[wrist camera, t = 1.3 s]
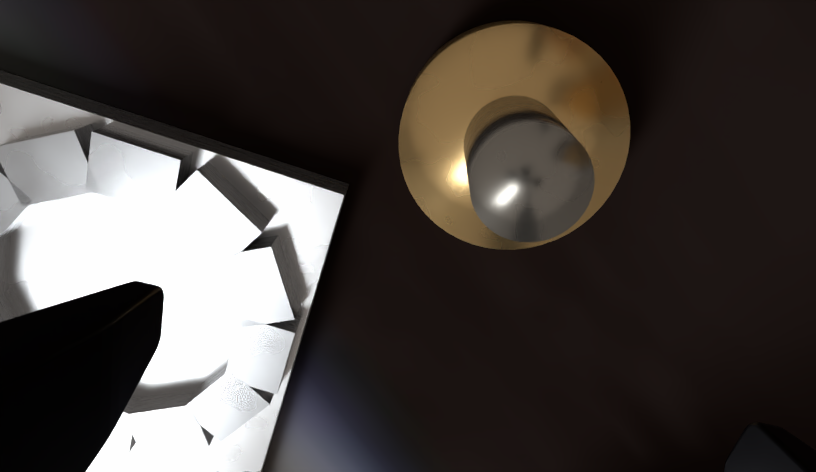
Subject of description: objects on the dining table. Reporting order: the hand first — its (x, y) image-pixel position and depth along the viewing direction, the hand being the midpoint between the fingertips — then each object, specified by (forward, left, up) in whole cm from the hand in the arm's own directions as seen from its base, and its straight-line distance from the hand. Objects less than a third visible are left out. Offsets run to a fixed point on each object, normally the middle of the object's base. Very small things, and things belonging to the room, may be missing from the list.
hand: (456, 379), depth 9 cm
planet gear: (-2, -1, -13) cm, 13 cm away
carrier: (+12, +11, -12) cm, 20 cm away
